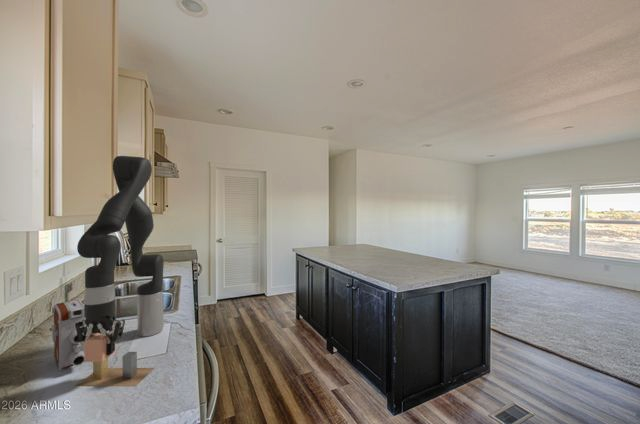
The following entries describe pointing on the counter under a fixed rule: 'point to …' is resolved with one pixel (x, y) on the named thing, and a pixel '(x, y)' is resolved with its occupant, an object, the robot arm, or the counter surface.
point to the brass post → (100, 369)
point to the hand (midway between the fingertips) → (100, 353)
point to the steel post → (129, 365)
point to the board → (116, 378)
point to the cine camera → (67, 334)
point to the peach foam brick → (96, 349)
